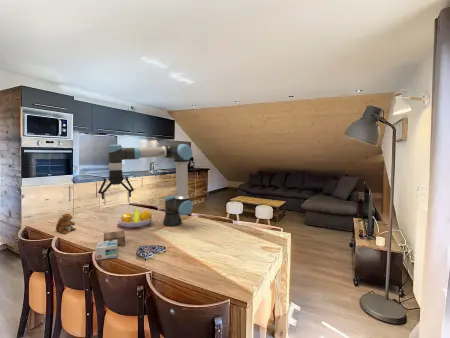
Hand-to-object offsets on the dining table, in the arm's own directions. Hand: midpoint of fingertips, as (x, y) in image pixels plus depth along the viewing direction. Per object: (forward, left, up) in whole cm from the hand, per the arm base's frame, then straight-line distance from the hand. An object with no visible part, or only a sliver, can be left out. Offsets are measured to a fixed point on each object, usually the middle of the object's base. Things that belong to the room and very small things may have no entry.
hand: (116, 203), depth 152 cm
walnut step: (+2, -2, -27) cm, 27 cm away
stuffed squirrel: (+34, -42, -27) cm, 61 cm away
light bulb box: (+6, +9, -23) cm, 26 cm away
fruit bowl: (-15, -38, -27) cm, 49 cm away
